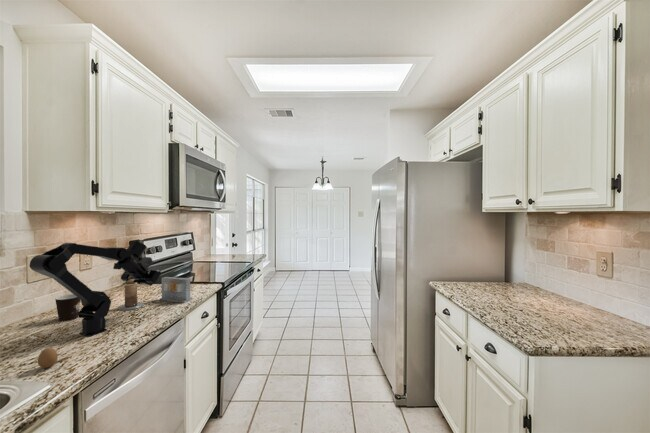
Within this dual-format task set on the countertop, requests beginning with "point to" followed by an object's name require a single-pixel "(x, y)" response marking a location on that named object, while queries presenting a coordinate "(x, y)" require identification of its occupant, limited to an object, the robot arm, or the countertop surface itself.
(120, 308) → the coaster
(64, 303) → the coffee mug
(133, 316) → the countertop surface
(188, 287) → the switch panel
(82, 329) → the robot arm
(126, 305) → the pepper mill
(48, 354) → the egg
